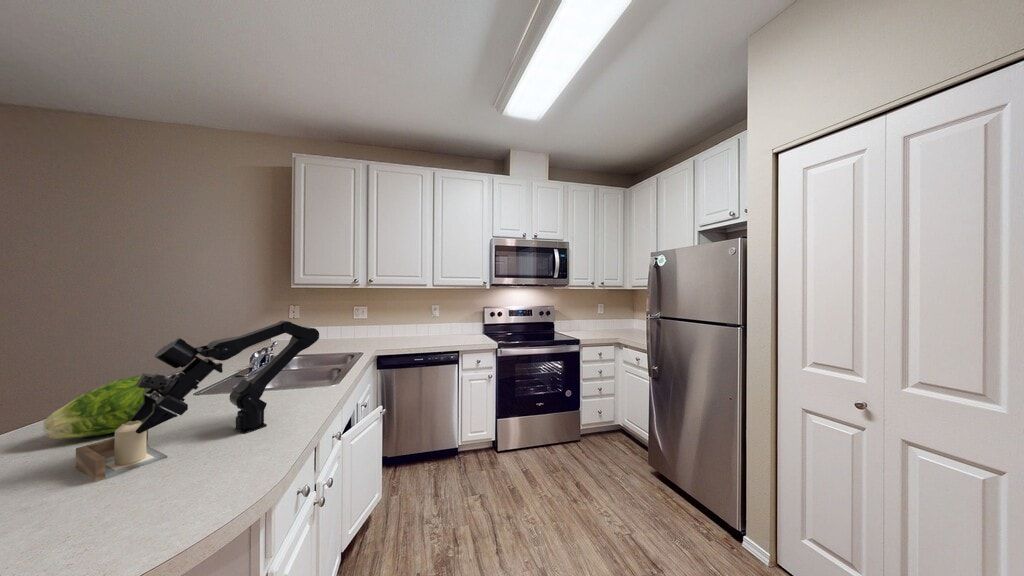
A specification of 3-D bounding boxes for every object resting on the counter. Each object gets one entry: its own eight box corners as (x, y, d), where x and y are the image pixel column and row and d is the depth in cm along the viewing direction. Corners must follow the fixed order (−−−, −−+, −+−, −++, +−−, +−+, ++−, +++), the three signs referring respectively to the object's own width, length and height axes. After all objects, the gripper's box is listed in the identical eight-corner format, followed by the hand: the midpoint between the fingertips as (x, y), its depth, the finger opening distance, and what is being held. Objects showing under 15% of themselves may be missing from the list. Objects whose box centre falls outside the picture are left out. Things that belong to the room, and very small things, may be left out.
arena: (145, 446, 96) (145, 429, 96) (167, 457, 90) (167, 439, 90) (75, 467, 84) (75, 448, 84) (95, 481, 79) (95, 460, 79)
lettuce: (55, 464, 97) (46, 415, 102) (168, 425, 115) (156, 385, 120) (38, 443, 87) (30, 391, 92) (164, 404, 105) (151, 362, 110)
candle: (116, 467, 83) (117, 428, 83) (112, 461, 86) (112, 423, 86) (148, 458, 88) (149, 421, 88) (143, 452, 91) (143, 416, 91)
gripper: (154, 357, 97) (94, 405, 88) (170, 366, 86) (104, 423, 77) (191, 377, 104) (138, 424, 95) (210, 388, 93) (153, 443, 84)
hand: (133, 428), depth 88 cm, fingers open, 9 cm apart
